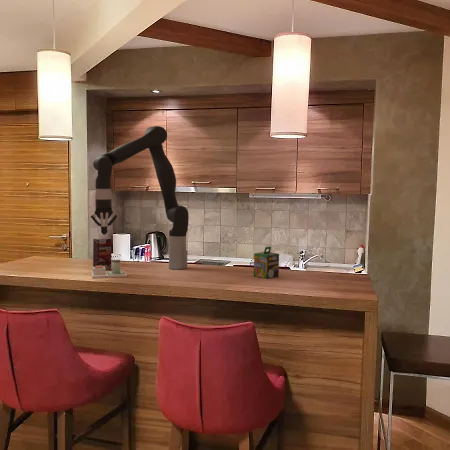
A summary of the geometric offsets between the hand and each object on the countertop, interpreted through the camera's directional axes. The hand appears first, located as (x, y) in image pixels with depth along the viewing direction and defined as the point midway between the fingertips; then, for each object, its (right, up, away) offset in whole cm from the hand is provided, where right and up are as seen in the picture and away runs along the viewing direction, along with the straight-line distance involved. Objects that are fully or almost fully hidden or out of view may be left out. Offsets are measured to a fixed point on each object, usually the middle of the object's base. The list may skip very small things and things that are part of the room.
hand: (104, 234), depth 233 cm
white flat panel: (+2, -20, +1) cm, 20 cm away
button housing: (-3, -20, 0) cm, 20 cm away
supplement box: (-6, -19, +19) cm, 27 cm away
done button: (-2, -18, 0) cm, 18 cm away
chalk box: (+78, -21, +5) cm, 81 cm away
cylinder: (+5, -19, +2) cm, 19 cm away
